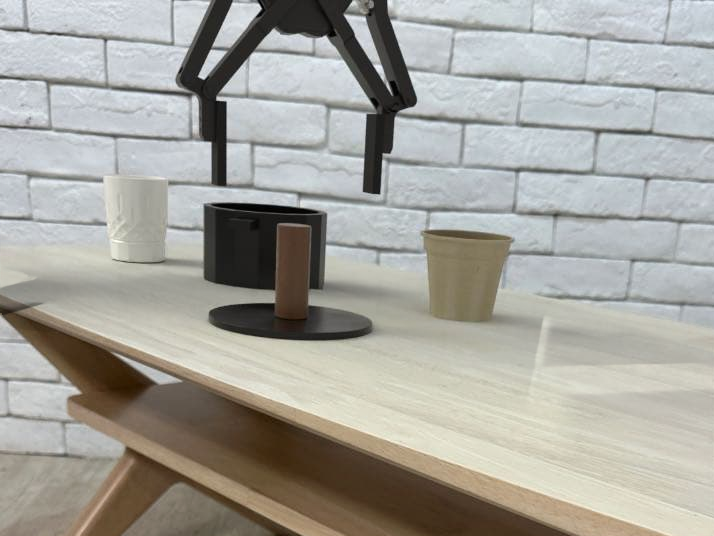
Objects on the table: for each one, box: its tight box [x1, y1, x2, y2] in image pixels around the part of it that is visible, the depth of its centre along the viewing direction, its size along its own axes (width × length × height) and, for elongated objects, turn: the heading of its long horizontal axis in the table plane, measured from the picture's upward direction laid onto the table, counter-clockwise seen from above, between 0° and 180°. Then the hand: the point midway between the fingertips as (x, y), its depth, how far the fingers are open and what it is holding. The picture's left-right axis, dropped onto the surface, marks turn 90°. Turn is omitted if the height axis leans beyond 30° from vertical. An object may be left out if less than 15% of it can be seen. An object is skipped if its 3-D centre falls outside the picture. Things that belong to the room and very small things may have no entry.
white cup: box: [102, 173, 169, 264], centre depth 126 cm, size 8×8×10 cm
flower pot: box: [419, 228, 516, 323], centre depth 100 cm, size 9×9×9 cm
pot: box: [202, 201, 328, 291], centre depth 113 cm, size 14×19×8 cm
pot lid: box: [207, 223, 373, 341], centre depth 89 cm, size 15×15×9 cm
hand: (297, 189), depth 86 cm, fingers open, 13 cm apart
